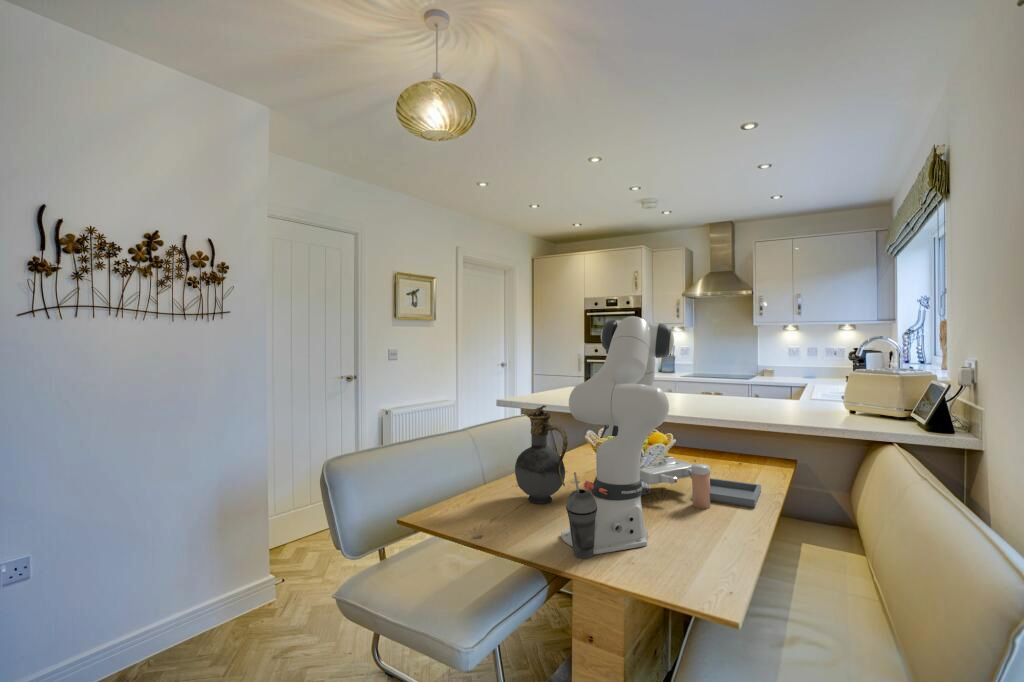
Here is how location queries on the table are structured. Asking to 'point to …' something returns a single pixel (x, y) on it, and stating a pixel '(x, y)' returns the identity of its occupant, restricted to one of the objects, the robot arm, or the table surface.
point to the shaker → (701, 486)
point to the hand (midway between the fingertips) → (686, 478)
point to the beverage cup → (582, 521)
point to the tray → (734, 492)
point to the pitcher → (541, 461)
